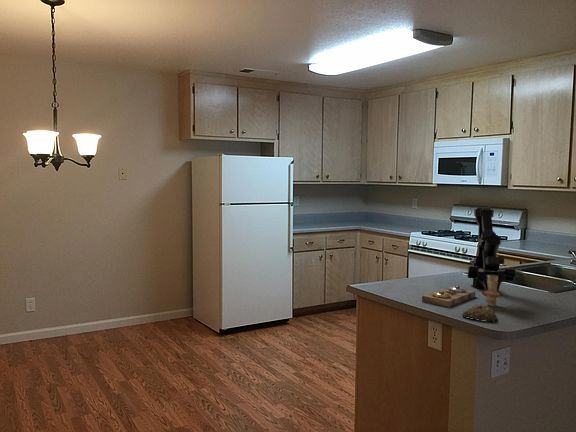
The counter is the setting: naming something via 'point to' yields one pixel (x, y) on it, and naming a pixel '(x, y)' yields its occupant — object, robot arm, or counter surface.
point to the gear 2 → (457, 289)
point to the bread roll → (480, 313)
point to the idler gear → (491, 290)
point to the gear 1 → (441, 294)
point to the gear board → (447, 302)
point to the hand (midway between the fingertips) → (492, 290)
